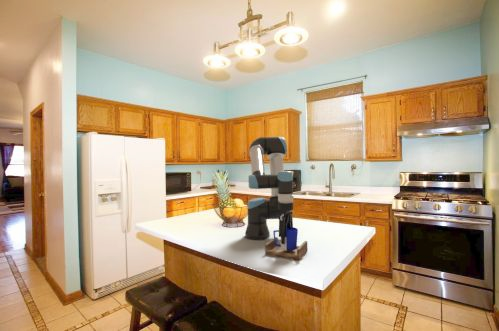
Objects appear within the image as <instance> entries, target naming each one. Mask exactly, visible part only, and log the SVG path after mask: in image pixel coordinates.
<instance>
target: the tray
mask: <svg viewBox="0 0 499 331" xmlns="http://www.w3.org/2000/svg"><path fill="white" fill-rule="evenodd" d="M278 237H279V236H277V237H276V236H275V239H276V243H277V244H281V242H278ZM264 250H265V251H264V255H266V256H273V257H278V258H284V259H290V260H295V261H296V260H297V261H301V260H302V258H303V257H304V256H305V255H306V253H308V241H307V240H304V242H302V244H301V245H297V247H296V249H295V250H287V251H284V250H281V246H277V245H276V244H275V241H274V238H272V239H271V240H270V241H268V242H267V243H265V244H264Z"/></svg>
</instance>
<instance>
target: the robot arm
mask: <svg viewBox="0 0 499 331" xmlns="http://www.w3.org/2000/svg"><path fill="white" fill-rule="evenodd" d="M286 141H287V140H286V138H285V137H283V136H266V137H265V136H264V137H263V136H261V137H258V138H256V139H254V140H253V141H252V142H251V143H250V145H249V147H248V153H249V156H250V167H251V168H250V169H251V174H249V175H248V177H247V178H248V188H249V189H251V190H252V189H253V190H262V189H263V190H264V189H265V190H267V189H270V190H271V192H270V196H269V198H268V199H267V198H266V197H258V198H257V197H256V198H252V199H250V200H248V202H247V206H246V209H247V226H246V229H245V233H244V236H245V238H246V239H249V240H253V241H258V240H259V241H260V240H266V239H268V238H270V237H271V236H270V234H271V232H270V230H269V227H268V223H267V221H268V220H278V230H279V232H278V237H279V238H280V243H281V250H284V251H287V240H286V228H288V229H290V230H291V227H293V228H294V223H293V220H294V218H293V214H294V213H293V210H294V197H295V196H294V177H293V175H294V174H293V171H291V170H284V160H283V159H284V158H285V156H286V155H287V153H288V146H287V142H286ZM264 155H265V156H266V157H267V159H269V169H270V171H269V172H270V174H266V172H265V163H264Z"/></svg>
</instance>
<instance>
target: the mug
mask: <svg viewBox="0 0 499 331" xmlns="http://www.w3.org/2000/svg"><path fill="white" fill-rule="evenodd" d="M298 231H299V228H297V227H294V226H293V227H291V230H290V229H288V228H286V240H287V250H295V249H296V247H297V246H298V245H297V244H298ZM277 232H278V233H279V229H275V230H273V239H274V241H275V244H276V245H277V246H281V244H277V243H276V239H275V237H276V233H277Z"/></svg>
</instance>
